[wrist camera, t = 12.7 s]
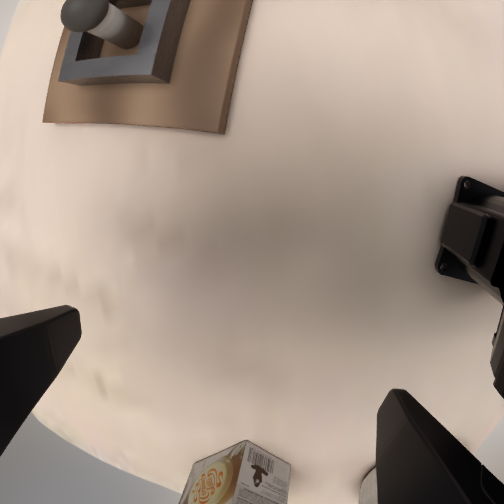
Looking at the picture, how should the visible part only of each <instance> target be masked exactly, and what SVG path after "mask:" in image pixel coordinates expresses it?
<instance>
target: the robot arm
mask: <svg viewBox="0 0 504 504" xmlns="http://www.w3.org/2000/svg"><path fill="white" fill-rule="evenodd" d="M465 181H467V187H466V188H465V186H464V182H465ZM441 243H442V245H441V249H440V252H439V255H438V258H437V261H436V264H435V269H436V271H437V272H438V273H440V274H441V275H445V276H449V277H453V278H457V279H461V280H465V281H469V282H472V283H476V284H479V285H481V286H482V287H483V288H484V289H485V290H486V291H488V292H489V293H490V294H491V295H492V296H493V297H494V298H495V299H497V300H498V301H499V302H500V303H501V304H502V305H503V309H502V313H501V317H500V321H499V325H498V328H497V332H496V333H495V334H494V337H493V340H492V345H493V349H492V354H491V361H490V364H491V367H492V371H493V374H494V377H495V380H494V383H493V385H494V387H495V388H496V390H497V391H498V392H499V394H500V395H501V396H502V398H503V399H504V192H502V191H499V190H497V189H495V188H493V187H491V186H489V185H486V184H484V183H482V182H480V181H477V180H475V179H473V178H470V177H467V176H462V177H461V178H460V179H459V181H458V185H457V190H456V194H455V198H454V202H453V204H452V205H451V207H450V211H449V215H448V219H447V222H446V226H445V229H444V233H443V236H442V239H441ZM442 264H445V266H444V268H442V269H441V265H442ZM81 334H82V331H81V322H80V314H79V311H78V310H77V309H76V308H74V307H71V306H69V305H63V306H58V307H54V308H49V309H44V310H39V311H34V312H29V313H25V314H20V315H15V316H10V317H5V318H0V456H1V455H2V453H3V452H4V450H5V449H6V447H7V446H8V444H9V443H10V441H11V440H12V438H13V437H14V435H15V434H16V432H17V431H18V429H19V428H20V426H21V425H22V423H23V422H24V421H25V419H26V418H27V416H28V415H29V414H30V412H31V411H32V409H33V408H34V407H35V405H36V404H37V402H38V401H39V400H40V398H41V397H42V396H43V394H44V393H45V392H46V390H47V389H48V388H49V386H50V385H51V384H52V382H53V381H54V380H55V378H56V377H57V375H58V374H59V372H60V371H61V369H62V368H63V366H64V364H65V363H66V361H67V359H68V358H69V356H70V354H71V353H72V351H73V350H74V348H75V347H76V345H77V343H78V342H79V340H80V338H81ZM376 478H377V501H378V504H504V484H503V483H502V482H501V481H499V480H498V479H497V478H496V477H495V476H494V475H493V474H492V473H491V472H490V471H489V470H488V469H487V468H486V467H485V466H484V465H481V462H480V461H479V460H478V459H476V458H475V457H474V456H473V455H472V454H471V453H470V452H469V451H468V450H467V449H466V448H465V447H464V446H463V445H462V444H461V443H460V442H459V441H458V440H457V439H456V438H455V437H454V436H453V435H452V434H451V433H450V432H449V431H448V430H447V429H446V428H445V427H444V426H443V425H442V424H440V423H439V422H438V421H437V420H436V419H435V418H434V417H433V416H432V415H431V414H430V413H429V412H428V411H427V410H426V409H425V408H424V407H423V406H422V405H421V404H420V403H419V402H418V401H417V400H416V399H415V398H414V397H412V396H411V395H410V394H409V393H408V392H407V391H406V390H404V389H392V390H390V391H389V393H388V395H387V396H386V398H385V400H384V401H383V403H382V405H381V406H380V408H379V410H378V413H377V439H376Z"/></svg>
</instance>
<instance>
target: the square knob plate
mask: <svg viewBox="0 0 504 504" xmlns="http://www.w3.org/2000/svg"><path fill="white" fill-rule="evenodd" d="M252 1H253V0H191V1H190V4H189V7H188V11H187V14H186V18H185V22H184V25H183V29H182V33H181V36H180V40H179V44H178V48H177V53H176V57H175V61H174V65H173V70H172V74H171V79H170V84H167V83H124V84H101V85H87V86H78V85H74V84H69V83H64V82H59V81H58V79H59V74H60V70H61V66H62V62H63V58H64V54H65V50H66V46H67V43H68V39H69V36H70V33H71V31H72V32H86V31H87V32H89V33H91V34H93V35H95V36H98V37H100V38H102V39H104V43H103V47H102V50H101V54H100V58H104V57H114V56H125V55H136V54H137V50H138V46H139V43H140V39H141V35H142V32H143V28H144V25H145V21H146V18H147V15H148V12H149V8H150V5H144V6H137V7H130V8H124V9H118V8H117V7H115V6H113V5H112V4H110V3H109V1H108V0H66V2H65V3H64V5H63V7H62V10H61V21H62V23H63V25H64V29H63V33H62V36H61V39H60V42H59V46H58V50H57V53H56V57H55V61H54V65H53V69H52V73H51V78H50V83H49V87H48V92H47V98H46V103H45V109H44V116H43V122H42V123H110V124H130V125H146V126H158V127H169V128H179V129H188V130H197V131H205V132H213V133H220V134H224V132H225V126H226V121H227V116H228V110H229V105H230V100H231V95H232V90H233V85H234V80H235V76H236V71H237V66H238V61H239V57H240V52H241V48H242V43H243V39H244V34H245V30H246V26H247V22H248V17H249V13H250V9H251V5H252Z"/></svg>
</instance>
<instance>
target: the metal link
mask: <svg viewBox="0 0 504 504" xmlns="http://www.w3.org/2000/svg"><path fill="white" fill-rule="evenodd" d="M108 1H109V3H110V4H112V5H113V6H115V7H117V8H118V9H124V8H130V7H137V6H144V5H150V8H149V12H148V15H147V18H146V21H145V25H144V28H143V32H142V35H141V39H140V43H139V46H138V50H137V54H136V55H125V56H114V57H104V58H100V54H101V50H102V47H103V43H104V39H102V38H100V37H98V36H95V35H93V34H91V33H89V32H87V31H86V32H72V31H71V33H70V36H69V39H68V43H67V46H66V50H65V54H64V58H63V62H62V66H61V70H60V74H59V79H58V81H59V82H64V83H69V84H74V85H78V86H87V85H101V84H124V83H167V84H170V79H171V74H172V70H173V65H174V61H175V57H176V53H177V48H178V44H179V40H180V36H181V33H182V29H183V25H184V22H185V18H186V14H187V11H188V7H189V4H190V1H191V0H108Z"/></svg>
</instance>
